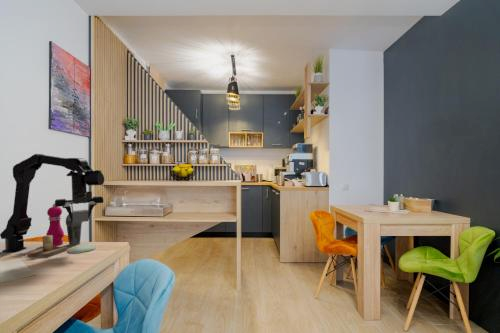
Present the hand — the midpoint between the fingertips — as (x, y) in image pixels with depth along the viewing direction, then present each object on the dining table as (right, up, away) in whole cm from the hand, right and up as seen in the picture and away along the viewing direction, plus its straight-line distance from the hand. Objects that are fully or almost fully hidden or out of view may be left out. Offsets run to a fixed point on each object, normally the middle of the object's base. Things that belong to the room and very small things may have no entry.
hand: (80, 220), depth 133 cm
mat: (0, -13, 0) cm, 13 cm away
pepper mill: (-18, -14, +10) cm, 25 cm away
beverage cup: (-9, -14, +10) cm, 19 cm away
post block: (-12, -14, -4) cm, 18 cm away
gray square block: (0, 0, 0) cm, 0 cm away
